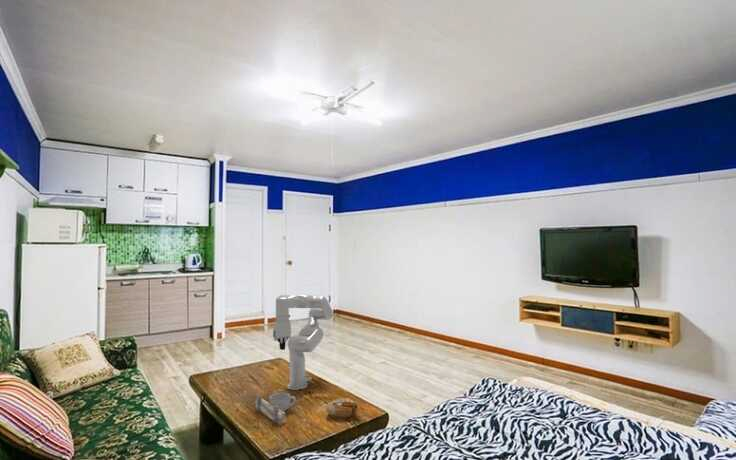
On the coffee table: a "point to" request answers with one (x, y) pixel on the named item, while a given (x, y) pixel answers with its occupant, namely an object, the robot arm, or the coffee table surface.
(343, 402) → the nautilus
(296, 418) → the coffee table surface
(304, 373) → the robot arm
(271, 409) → the bar
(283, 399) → the teacup
